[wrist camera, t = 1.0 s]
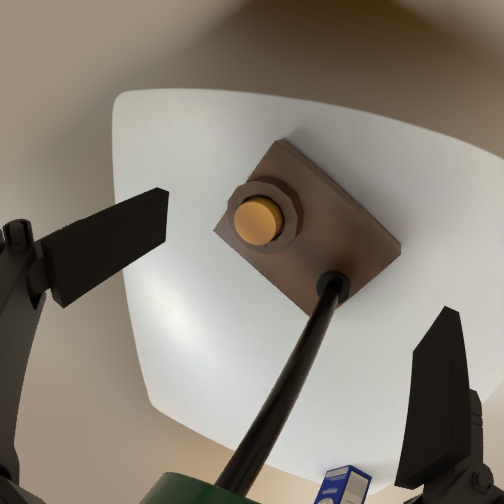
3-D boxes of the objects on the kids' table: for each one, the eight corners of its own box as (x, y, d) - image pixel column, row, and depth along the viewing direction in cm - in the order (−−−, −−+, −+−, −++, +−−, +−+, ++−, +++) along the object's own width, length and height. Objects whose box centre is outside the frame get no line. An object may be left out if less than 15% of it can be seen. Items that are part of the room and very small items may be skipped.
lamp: (343, 230, 25) (106, 593, 3) (413, 299, 24) (324, 648, 3) (281, 291, 30) (87, 538, 8) (346, 348, 30) (220, 606, 8)
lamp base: (283, 138, 28) (267, 142, 25) (401, 244, 27) (401, 263, 24) (223, 223, 35) (203, 237, 32) (322, 312, 34) (312, 334, 31)
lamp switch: (257, 187, 27) (249, 192, 26) (291, 217, 27) (285, 223, 26) (235, 218, 30) (226, 224, 28) (267, 246, 29) (259, 253, 28)
